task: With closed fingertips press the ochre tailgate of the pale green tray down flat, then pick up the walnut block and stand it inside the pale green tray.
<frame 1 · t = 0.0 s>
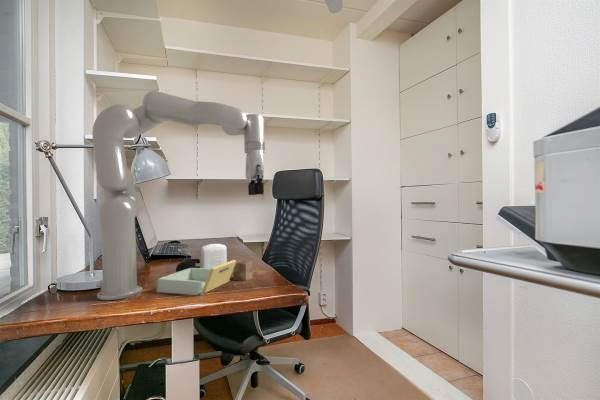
hand: (255, 194, 119), 31 cm above the table, tool pointing down, fingers open, 9 cm apart
photo printer: (214, 275, 126), on the table
pale green tray: (194, 289, 106), on the table
walnut block: (243, 281, 115), on the table
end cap: (188, 277, 125), on the table
tailgate: (220, 275, 103), point 5 cm above the table, hinge at 25.0°
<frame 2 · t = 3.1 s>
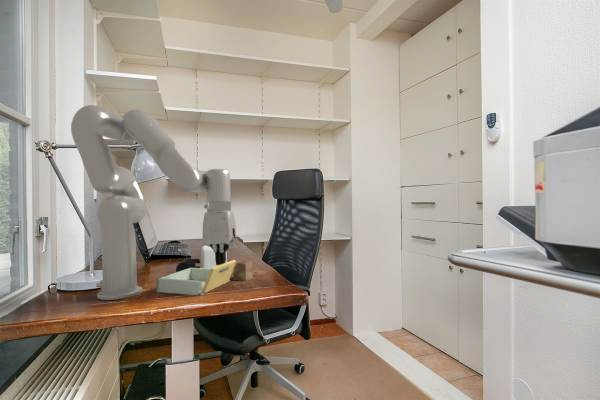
hand: (220, 264, 103), 9 cm above the table, tool pointing down, fingers closed
tailgate: (220, 275, 103), point 5 cm above the table, hinge at 25.0°, touching gripper
everything else where it was.
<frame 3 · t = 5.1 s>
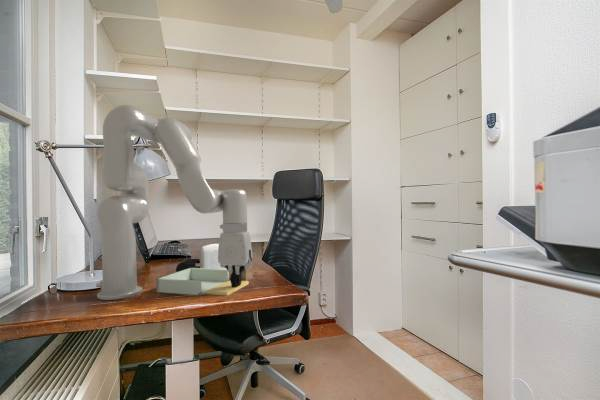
hand: (236, 286, 102), 2 cm above the table, tool pointing down, fingers closed
tailgate: (227, 288, 103), point 1 cm above the table, hinge at 86.7°, touching gripper
everything else where it was.
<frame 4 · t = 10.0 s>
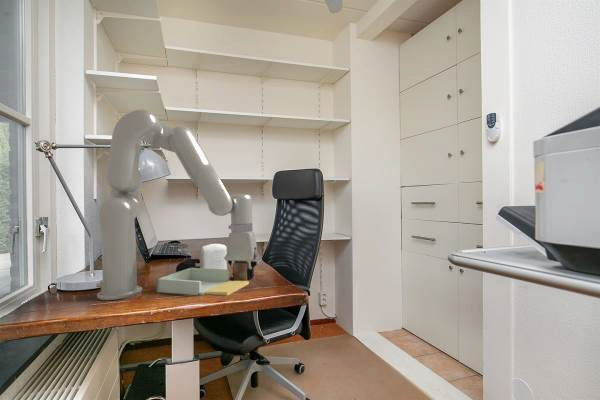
hand: (243, 278, 115), 1 cm above the table, tool pointing down, fingers closed on walnut block, 5 cm apart
walnut block: (243, 281, 115), on the table, touching gripper
tailgate: (227, 288, 103), point 1 cm above the table, hinge at 86.7°
everything else where it was.
when the fingers open (3 cm above the table, at t = 15.9 s): walnut block stays where it is, resting on pale green tray.
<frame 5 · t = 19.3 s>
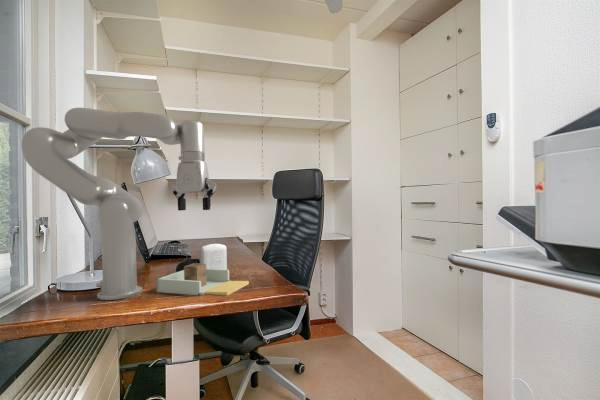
hand: (194, 210, 106), 26 cm above the table, tool pointing down, fingers open, 9 cm apart
walnut block: (195, 286, 106), point 1 cm above the table, touching pale green tray
everything else where it was.
at the end: tailgate at +87° (first picture: +25°); walnut block inside the target area on the pale green tray (0.1 cm from its centre), point 1.0 cm above the pale green tray's base; the gripper is holding nothing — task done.
